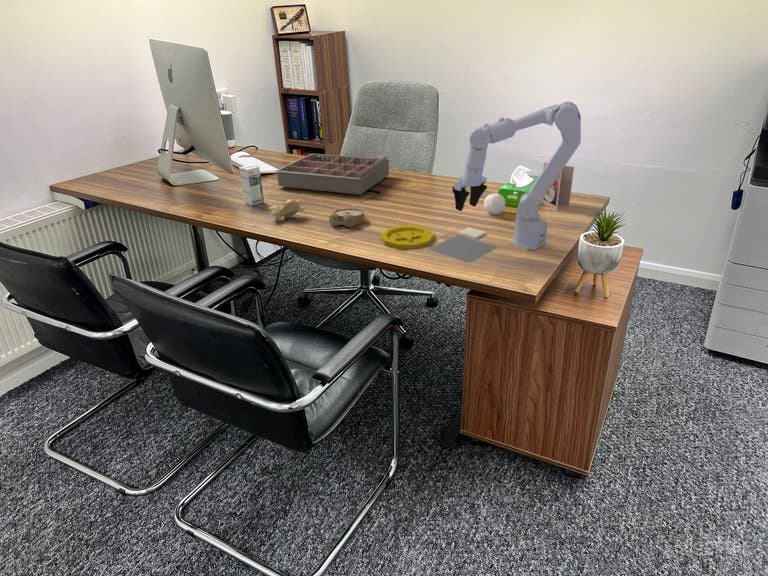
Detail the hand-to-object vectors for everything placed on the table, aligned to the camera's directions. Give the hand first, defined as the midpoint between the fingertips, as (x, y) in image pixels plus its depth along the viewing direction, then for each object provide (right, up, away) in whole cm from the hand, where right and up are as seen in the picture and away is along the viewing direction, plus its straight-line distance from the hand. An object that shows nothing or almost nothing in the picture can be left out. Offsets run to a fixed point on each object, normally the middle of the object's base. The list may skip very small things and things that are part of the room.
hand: (465, 207), depth 181 cm
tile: (+1, -9, +4) cm, 10 cm away
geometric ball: (+14, +1, +24) cm, 28 cm away
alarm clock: (-40, -3, +20) cm, 44 cm away
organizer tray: (-48, +20, +64) cm, 82 cm away
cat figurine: (-62, -1, +25) cm, 66 cm away
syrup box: (-78, +8, +42) cm, 89 cm away
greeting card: (+38, +5, +32) cm, 50 cm away
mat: (-2, -14, -4) cm, 15 cm away
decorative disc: (-19, -10, +4) cm, 22 cm away
